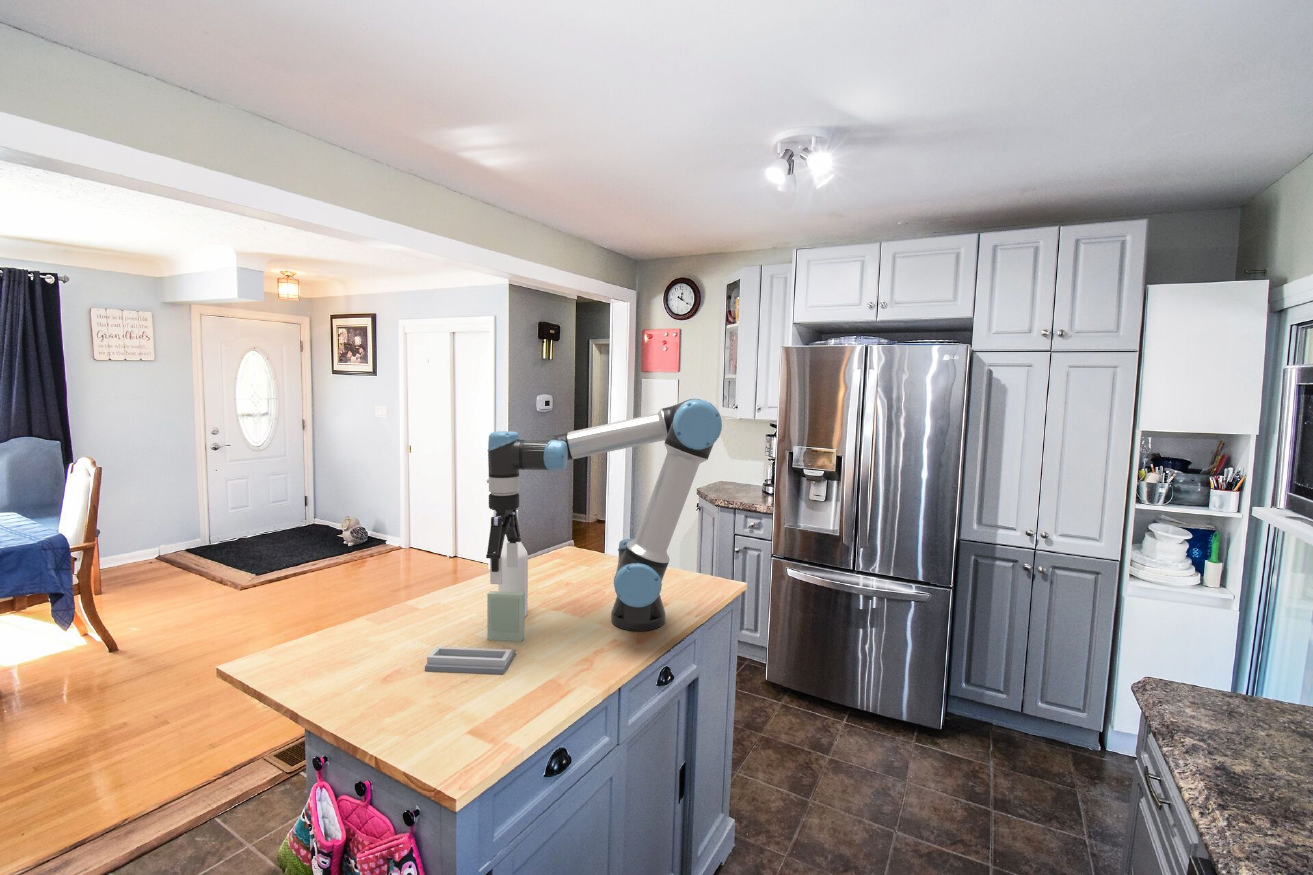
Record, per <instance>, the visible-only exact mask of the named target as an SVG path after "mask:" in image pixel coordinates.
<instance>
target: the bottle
mask: <svg viewBox="0 0 1313 875" xmlns="http://www.w3.org/2000/svg"><path fill="white" fill-rule="evenodd" d="M516 513H517V520H518V521H519V510H518V509H516ZM507 543H510V542H508V539H507V538H506V541H505V543H503V547H502V552H501V557H502V584H497V585H498V591H504V592H525V617H527V616H528V612H529V610H528V609H529V607H528V606H529V603H528V601H529V600H528V599H529V589H528V588H529V586H528V585H529V577H528V576H529V575H528V574H529V558H528V557H529V556H528V554H529V553H528V551H527V549H526V548H525V546H524V544H523V543H522V541H521V542H516V543H518V567H517V568H515V567H507Z"/></svg>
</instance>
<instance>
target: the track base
mask: <svg viewBox="0 0 1313 875" xmlns="http://www.w3.org/2000/svg"><path fill="white" fill-rule="evenodd" d="M516 651H517V650H516V649H507V648H506V649H505V648H504V649H502V648H479V647H476V648H475V647H459V646H458V647H456V646H455V647H454V646H453V647H452V646H436V647H435V648H434V649H433V650H432V651H431V653H429V655H427V656H426V664H425V665H424V671H425V672H436V673H437V672H439V673H460V674H462V673H463V674H483V675H484V674H486V675H504V674H505V673H506V671H507V669H508V668H509V666H510V664H511V662H512V661H513V660H514V658H515V657H516V655H517V653H516Z"/></svg>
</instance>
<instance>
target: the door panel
mask: <svg viewBox="0 0 1313 875" xmlns="http://www.w3.org/2000/svg"><path fill="white" fill-rule="evenodd" d="M486 594H487V595H486V596H487V602H486V603H487V604H486V606H487V608H486V609H487V611H486V612H487V615H486V616H487V622H486V623H487V637H486V638H487V640H488V641H489V640H490V641H511V642H513V641H515V642H523V641H524V640H525V635H526V634H525V627H526V626H525V625H526V624H525V620H526V619H525V618H526V616H525V592H504V591H497V590H489V592H488V593H486Z"/></svg>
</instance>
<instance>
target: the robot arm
mask: <svg viewBox="0 0 1313 875" xmlns="http://www.w3.org/2000/svg"><path fill="white" fill-rule="evenodd" d="M722 420H723V419H722V417H721V414H720V412H719V410H718V409H717V407H716V406H715V405H713V403H711V402H709V401H707V400H703V399H699V398H691V399H686V400H684V401H681V402H680V403H678V404H673V405H670V406H666V407H663V408H660V409H659V410H658V412H657V413H652V414H648V415H643V416H639V417H634V418H629V419H624V420H619V421H615V422H609V423H605V424H601V425H596V426H591V427H587V428H583V429H577V430H572V431H567V432H563V433H558V434H551V435H547V436H545V437H543V438H542V439H534V440H533V439H530V440H528V439H527V440H526V439H520V434H519V433H518V431H510V430H508V431H507V430H506V431H505V430H503V431H501V430H499V431H493V432H491V433H490V434H489V435H488V441H487V442H488V444H487V445H488V446H487V447H488V448H487V456H488V457H487V461H488V462H487V465H488V466H487V467H488V479H487V480H486V483H487V484H488V492H489V495H488V508H489V509H490V510H492V511H495V516H491V518H490V529H489V535H488V536H489V538H488V545H487V552H486V554H485V556H486V557H485V558H486V559H489V563H490V564H489V566H490V567H489V568H490V569H489V570H490V571H489V572H490V573H489V574H490V575H489V576H490V577H489V578H490V580H489V581H490V583H489V584H490V585H498V584H502V557H501V552H502V548H503V546H504V542H505V537H506V540H507V539H508V542H510V543H507V567H515V568H517V567H518V543H516V542H521V543H522V539H521V533H520V528H519V519H518V520H517V513H516V510H518V509H519V507H520V494H519V492H520V470H523V471H524V470H528V471H534V470H535V471H550V472H553V471H561V470H562V471H563V470H565V469H566V468H567V464H568V461H572V460H575V459H581V458H585V457H591V456H594V455H598V454H599V455H600V454H604V453H610V452H615V451H618V450H619V451H620V450H625V449H628V448H630V449H631V448H633V447H640V446H643V445H648V444H649V445H650V444H653V443H658V442H663V441H664V447H665V448H666V451H667V453H666V454H665V457H664V461H663V464H662V466H661V468H660V471H659V474H658V477H657V479H656V482H655V485H654V487H653V490H652V492H651V496H650V498H649V502H648V503H647V506H646V508H645V511H644V515H643V518H642V520H641V522H640V525H639V528H638V529H637V533H636V535H635V538H625V539H621V541H619V542H618V543H619V545H618V548H617V552H618V563H617V567H616V571H615V575H614V578H613V587H614V592H615V594H616V598H615V600H614V604H613V606H612V610H611V617H610V619H611V620H610V622H611V623H612V624H613V626H615V627H617V628H620V629H622V630H626V631H633V632H635V631H636V632H644V631H651V630H655V629H659V628H661V627H662V626H664V624H665V623H666V611H665V608H664V604H663V602H662V601H663V600H662V597H661V592H662V586H663V584H662V583H663V582H662V581H663V579H664V576H665V573H666V571H667V569H668V567H669V566H668V565H669V563H670V556H669V555H668V552H667V551H668V549H669V547H670V544H671V540H672V538H673V536H674V533H675V530H676V527H677V525H678V522H679V519H680V518H681V514H682V512H683V508H684V507H685V504H686V501H687V498H688V496H689V493H690V491H691V488H692V485H693V482H694V480H695V477H696V476H697V475H696V474H697V472H698V469H699V468H700V467H699V466H700V465H701V464H702V463H704V462H707V461H708V460H709V458H710V454H711V452H712V450H713V447H714V444H715V443H716V442H717V441H718V439H719V438H720V436H721V434H722V430H723V429H722V428H723V421H722Z"/></svg>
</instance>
